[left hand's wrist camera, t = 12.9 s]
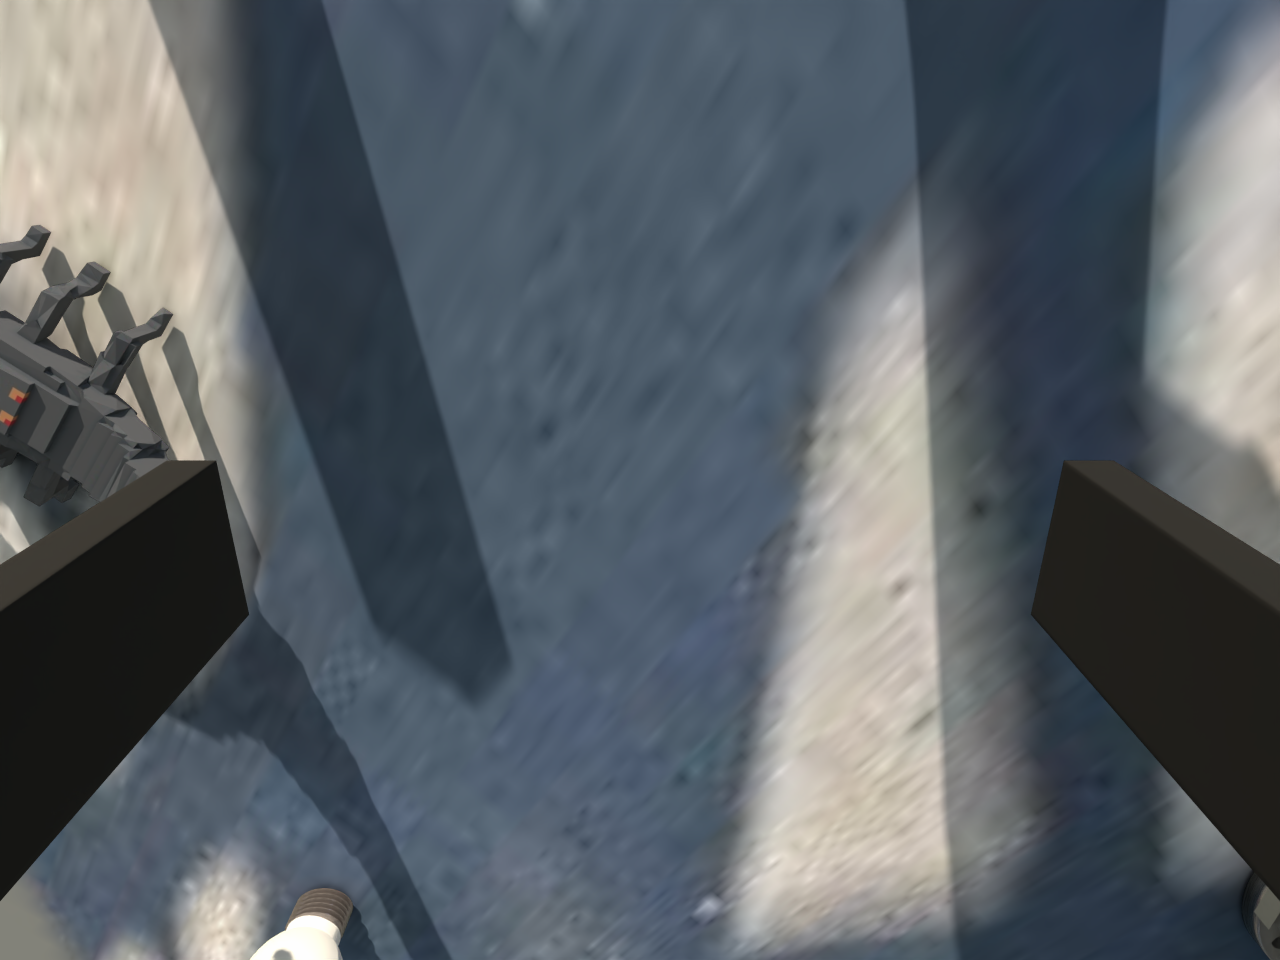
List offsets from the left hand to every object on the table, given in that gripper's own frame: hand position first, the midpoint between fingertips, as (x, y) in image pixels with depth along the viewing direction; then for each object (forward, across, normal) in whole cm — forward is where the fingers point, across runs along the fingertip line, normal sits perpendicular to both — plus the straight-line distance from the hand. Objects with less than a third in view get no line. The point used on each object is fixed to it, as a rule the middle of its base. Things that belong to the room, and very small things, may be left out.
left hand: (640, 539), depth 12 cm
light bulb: (+31, -23, -45) cm, 59 cm away
